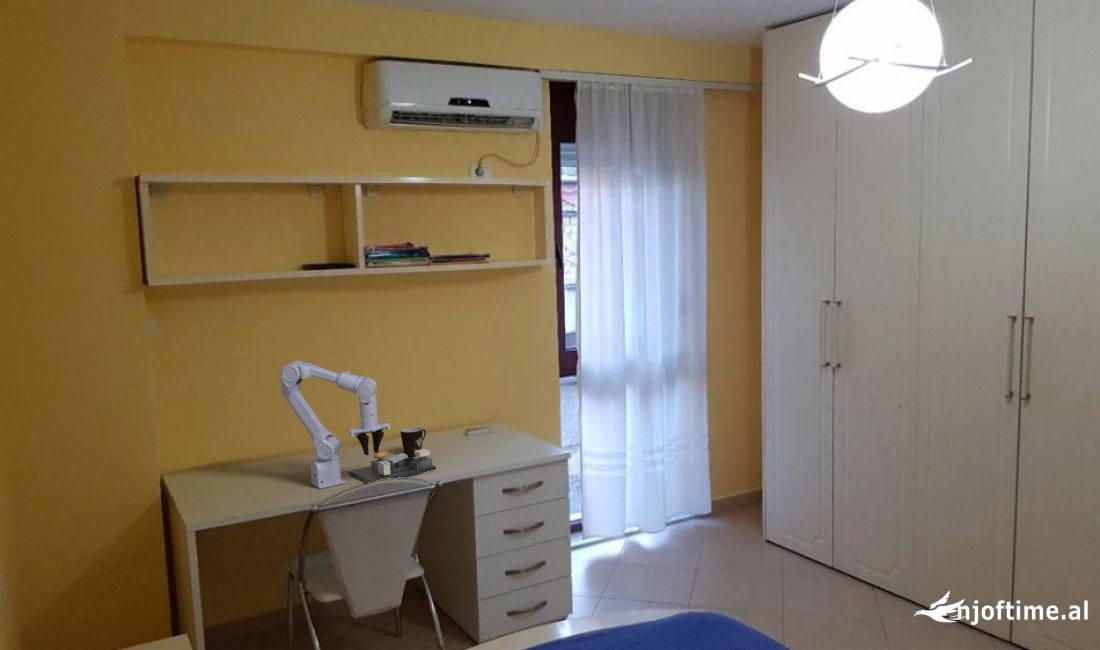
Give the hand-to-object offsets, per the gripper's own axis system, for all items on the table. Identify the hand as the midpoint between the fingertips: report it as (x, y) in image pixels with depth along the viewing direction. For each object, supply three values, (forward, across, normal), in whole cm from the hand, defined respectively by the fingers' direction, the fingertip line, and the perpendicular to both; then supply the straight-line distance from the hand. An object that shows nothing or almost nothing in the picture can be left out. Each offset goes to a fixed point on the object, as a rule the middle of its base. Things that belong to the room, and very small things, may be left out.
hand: (371, 453), depth 283 cm
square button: (+7, +20, 0) cm, 21 cm away
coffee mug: (+10, +28, +21) cm, 37 cm away
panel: (+10, +10, +5) cm, 15 cm away
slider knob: (+8, +5, 0) cm, 9 cm away
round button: (+7, +8, +9) cm, 13 cm away
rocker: (+7, +14, +9) cm, 18 cm away
